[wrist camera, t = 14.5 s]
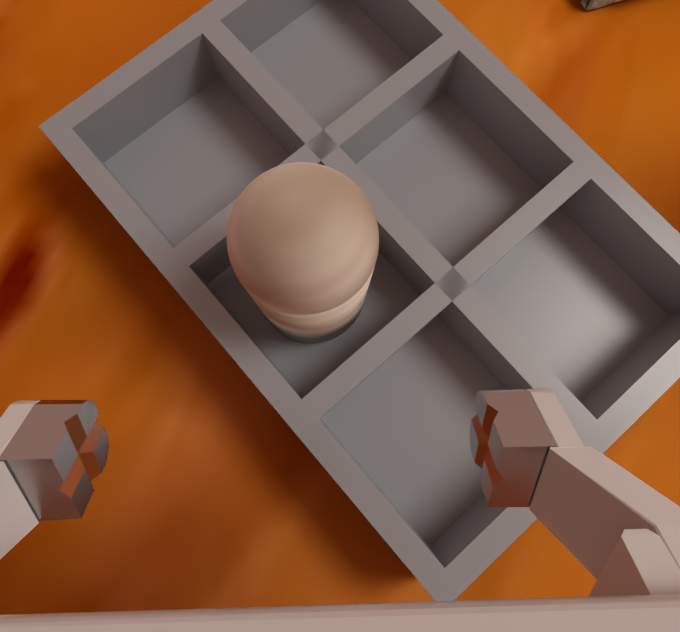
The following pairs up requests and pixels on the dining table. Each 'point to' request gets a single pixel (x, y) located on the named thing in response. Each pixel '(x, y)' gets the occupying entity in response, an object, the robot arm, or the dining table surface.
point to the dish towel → (597, 3)
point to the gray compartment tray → (394, 245)
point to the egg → (304, 249)
